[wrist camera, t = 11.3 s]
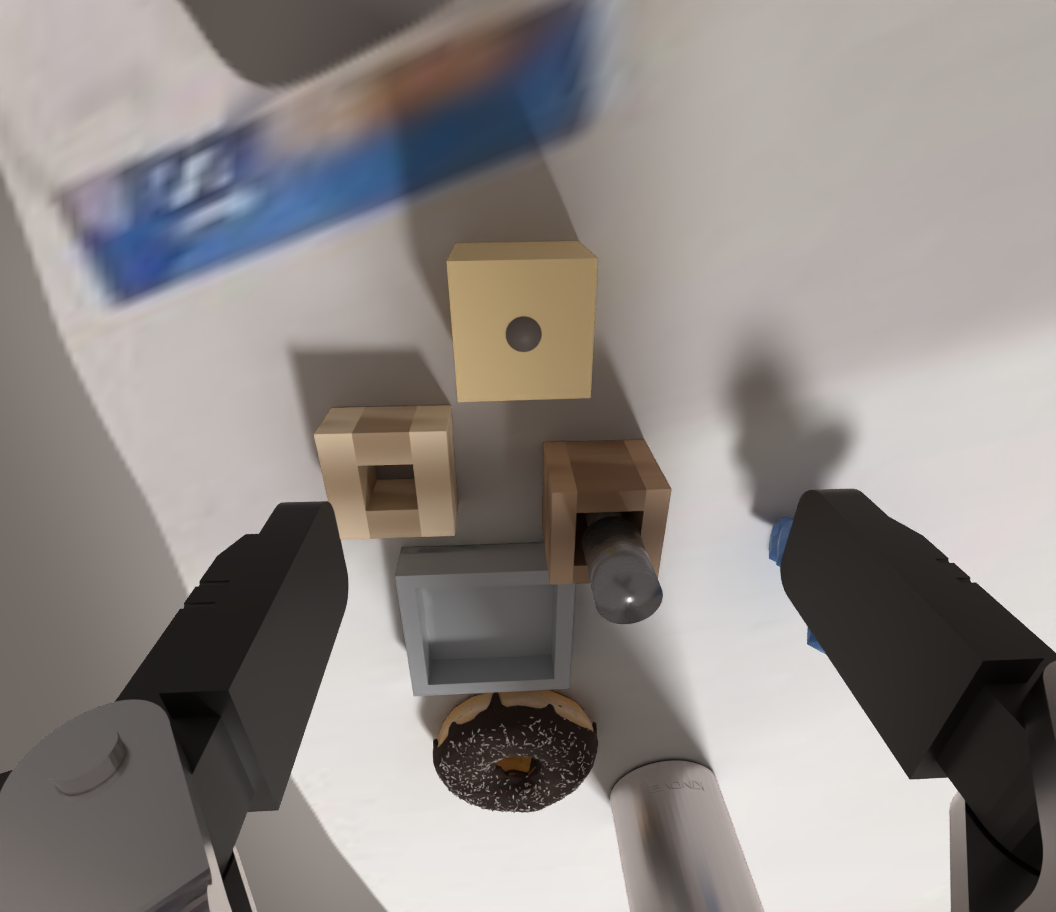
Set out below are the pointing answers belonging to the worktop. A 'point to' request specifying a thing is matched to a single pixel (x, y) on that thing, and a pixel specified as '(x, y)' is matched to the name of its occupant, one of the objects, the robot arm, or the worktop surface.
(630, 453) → the block
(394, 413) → the stand
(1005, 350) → the worktop surface
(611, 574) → the cylinder
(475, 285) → the block
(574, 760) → the donut
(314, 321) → the worktop surface
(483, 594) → the tray
